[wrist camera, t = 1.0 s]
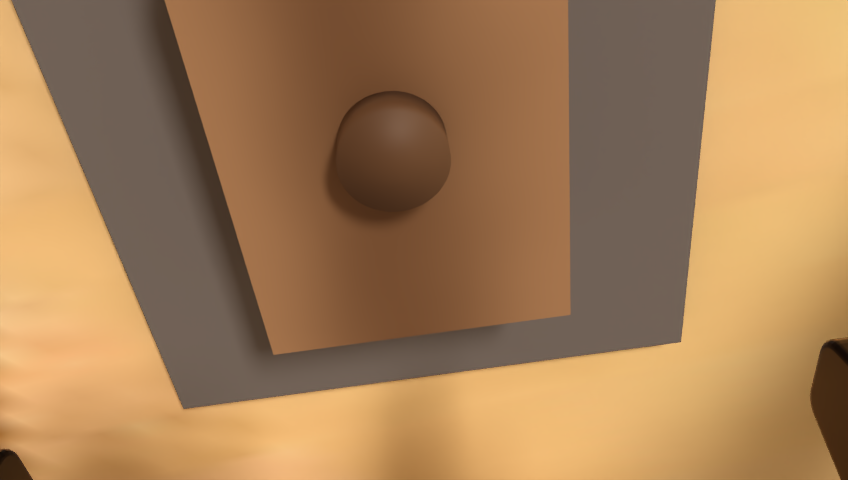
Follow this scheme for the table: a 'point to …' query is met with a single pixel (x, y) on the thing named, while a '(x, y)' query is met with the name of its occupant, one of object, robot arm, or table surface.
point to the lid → (388, 159)
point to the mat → (408, 356)
